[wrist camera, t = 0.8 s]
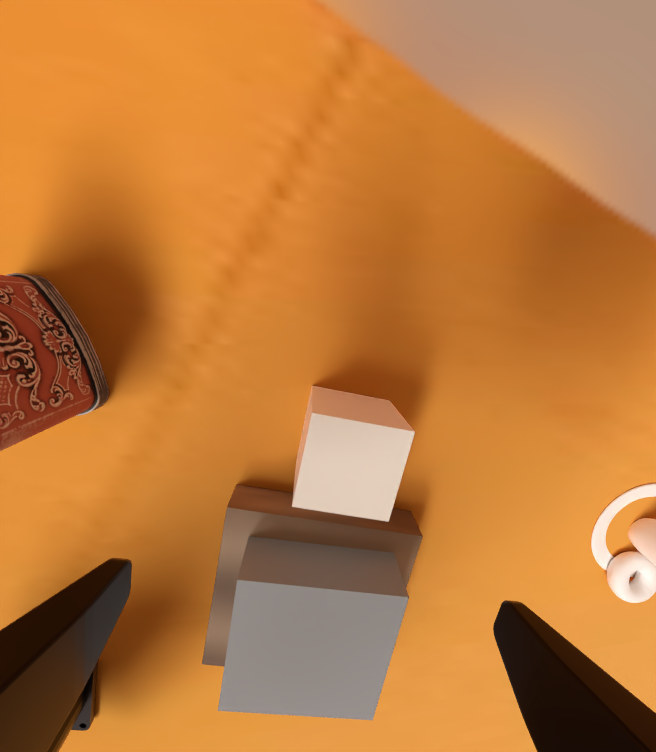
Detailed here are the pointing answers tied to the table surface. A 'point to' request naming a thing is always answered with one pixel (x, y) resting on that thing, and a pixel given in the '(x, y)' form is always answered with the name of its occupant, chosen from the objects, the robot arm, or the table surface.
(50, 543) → the table surface
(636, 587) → the teacup and saucer
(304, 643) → the top block
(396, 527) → the base block
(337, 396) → the cube
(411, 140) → the table surface
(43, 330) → the lighter
